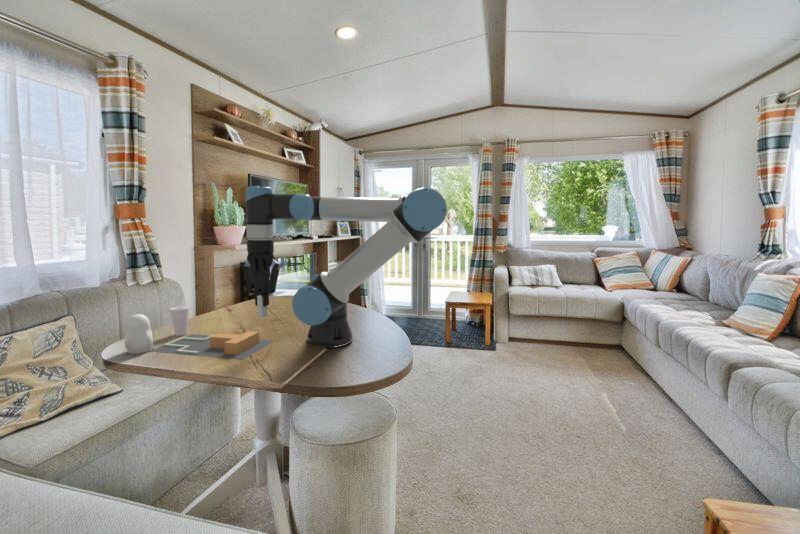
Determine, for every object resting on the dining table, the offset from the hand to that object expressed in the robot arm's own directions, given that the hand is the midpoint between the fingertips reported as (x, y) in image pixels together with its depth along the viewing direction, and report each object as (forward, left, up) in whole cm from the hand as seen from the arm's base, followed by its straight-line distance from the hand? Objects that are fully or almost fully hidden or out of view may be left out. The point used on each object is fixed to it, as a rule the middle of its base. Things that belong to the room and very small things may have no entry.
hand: (262, 316), depth 116 cm
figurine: (+38, +7, -12) cm, 41 cm away
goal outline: (+25, 0, -11) cm, 27 cm away
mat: (+17, 0, -12) cm, 21 cm away
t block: (+11, 0, -11) cm, 15 cm away
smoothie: (+39, -11, -12) cm, 42 cm away
